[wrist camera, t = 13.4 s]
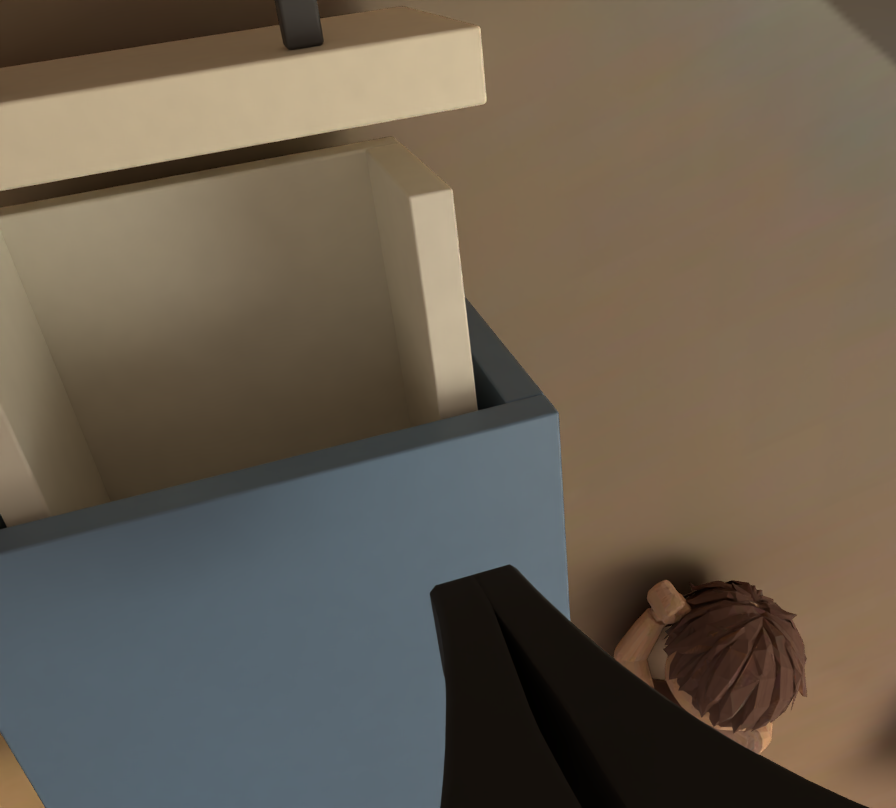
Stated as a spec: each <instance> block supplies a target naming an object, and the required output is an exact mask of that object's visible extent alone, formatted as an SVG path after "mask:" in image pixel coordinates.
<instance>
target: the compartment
mask: <svg viewBox="0 0 896 808" xmlns="http://www.w3.org/2000/svg"><path fill="white" fill-rule="evenodd" d="M465 303H466V312H467V321H468V329H469V338H470V347H471V355H472V364H473V373H474V382H475V390H476V399H477V408H478V411H474V412H470V413H466V414H462V415H458V416H454V417H450V418H446V419H442V420H438V421H434V422H430V423H426V424H422V425H418V426H414V427H410V428H406V429H402V430H398V431H394V432H390V433H386V434H382V435H378V436H374V437H370V438H366V439H362V440H358V441H354V442H350V443H346V444H342V445H338V446H334V447H329V448H325V449H321V450H317V451H313V452H309V453H305V454H301V455H297V456H293V457H289V458H285V459H281V460H277V461H273V462H269V463H265V464H261V465H257V466H253V467H249V468H245V469H241V470H237V471H233V472H229V473H225V474H221V475H217V476H213V477H209V478H205V479H201V480H197V481H193V482H189V483H185V484H181V485H177V486H173V487H169V488H165V489H160V490H156V491H152V492H148V493H144V494H140V495H136V496H132V497H128V498H124V499H120V500H116V501H112V502H108V503H104V504H100V505H96V506H92V507H88V508H84V509H80V510H76V511H72V512H68V513H64V514H60V515H56V516H52V517H48V518H44V519H40V520H36V521H32V522H28V523H24V524H20V525H16V526H12V527H8V528H7V526H6V524H5V522H4V520H3V518H2V516H1V514H0V733H1V734H2V736H3V738H4V739H5V741H6V743H7V744H8V746H9V748H10V749H11V751H12V753H13V754H14V756H15V758H16V759H17V761H18V763H19V764H20V766H21V768H22V769H23V771H24V773H25V774H26V776H27V778H28V779H29V781H30V783H31V784H32V786H33V788H34V790H35V791H36V793H37V795H38V796H39V798H40V800H41V801H42V803H43V805H44V806H45V808H440V805H441V795H442V784H443V772H444V756H445V726H446V687H445V677H444V674H443V669H442V663H441V657H440V651H439V645H438V640H437V634H436V628H435V622H434V616H433V611H432V605H431V599H430V592H431V590H432V589H433V588H434V587H435V585H439V584H442V583H446V582H449V581H453V580H456V579H460V578H463V577H467V576H470V575H474V574H477V573H481V572H484V571H488V570H491V569H495V568H498V567H502V566H505V565H509V564H510V565H512V566H514V567H515V568H517V569H518V570H519V571H520V572H521V574H522V575H523V576H524V577H525V578H526V579H527V580H528V581H529V582H530V583H531V584H532V585H533V586H534V587H535V588H536V589H537V590H538V591H539V592H540V593H541V594H542V595H543V596H544V597H545V598H546V599H547V600H548V601H549V602H550V603H551V604H552V605H553V606H554V607H556V608H557V609H558V610H559V611H560V612H561V613H562V614H563V615H564V616H565V617H566V618H567V619H568V620H570V608H569V590H568V572H567V554H566V537H565V519H564V501H563V483H562V465H561V448H560V430H559V413H558V411H557V410H556V409H555V408H554V406H553V405H552V404H551V403H550V401H549V400H548V399H547V398H546V396H545V395H543V392H542V391H541V390H540V389H539V387H538V386H537V385H536V384H535V383H534V381H533V380H532V379H531V378H530V376H529V375H528V374H527V373H526V371H525V370H524V369H523V368H522V366H521V365H520V364H519V363H518V362H517V360H516V359H515V358H514V357H513V355H512V354H511V353H510V352H509V350H508V349H507V348H506V347H505V346H504V344H503V343H502V342H501V341H500V339H499V338H498V337H497V336H496V334H495V333H494V332H493V331H492V329H491V328H490V327H489V326H488V325H487V323H486V322H485V321H484V320H483V318H482V317H481V316H480V315H479V313H478V312H477V311H476V310H475V308H474V307H473V306H472V305H471V304H470V302H469V301H468V300H467V299H466V297H465Z"/></svg>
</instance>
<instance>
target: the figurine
mask: <svg viewBox="0 0 896 808" xmlns="http://www.w3.org/2000/svg"><path fill="white" fill-rule="evenodd" d="M689 583H690V582H689ZM690 586H691V589H692V591H694V592H691V593H689V594H687V595H684V596H682V595H681V594H680V593H678V592H677V590H676V589H675V588H674V586H673V585H672V584H671V583H670V582H669V581H668V580H663V581H661V582H659V583H657V584H656V585H655V586H654V587H653V588H651V589H650V590H649V591H648V595H647V601H648V602H649V604H650V605H651V608H648V609H647V610H646V611H645V612H644V613H643V614H642V615H641V616H640V617H639V618H638V620H637V621H636V622H635V623H634V624H633V625H632V627H631V628H630V629H629V630H628V632H627V633H626V634H625V636H624V637H623V638H622V639H621V641H620V642H619V643H618V645H617V647H616V649H615V651H614V659H615V660H617V661H618V662H619V663H620V664H622V665H623V666H624V667H625V668H627V669H628V670H629V671H631V672H632V673H633V674H635V675H636V676H637V677H639V678H640V679H641V680H643V681H644V682H645V683H647V684H648V685H649V686H651V687H652V688H654V689H655V690H656V691H658V692H659V693H660V694H662V695H663V696H665V697H666V698H668V699H669V700H670V701H672V702H673V703H675V704H676V705H678V706H679V707H681V708H682V709H684V710H685V711H687V712H688V713H690V714H692V715H693V716H695V717H696V718H698V719H699V720H701V721H702V722H704V723H705V724H707V725H709V726H710V727H712V728H714V729H715V730H717V731H719V732H720V733H722V734H724V735H725V736H727V737H729V738H730V739H732V740H734V741H735V742H737V743H739V744H740V745H742V746H744V747H746V748H748V749H750V750H752V751H753V752H755V753H757V754H760V753H761V752H762V751H763V750H764V749H765V748H766V747H767V746H768V745H769V743H770V742H771V735H772V724H773V721H774V720H775V719H777V718H778V717H779V716H780V715H781V714H782V713H783V712H785V711H786V709H787V707H788V705H789V704H790V702H791V700H792V699H793V703H792V707H793V704H794V701H795V698H796V695H797V692H798V691H799V692H800V693H801V694H802V696H805V697H807V690H806V680H805V669H804V665H805V662H806V659H807V658H806V656H805V651H804V644H803V643H804V642H803V640H802V638H801V636H800V634H799V633H798V631H797V629H796V627H795V625H794V623H793V621H792V619H793V618H794V617H795V616H797V615H796V614H792V613H789V612H786V611H784V610H782V609H781V608H780V607H779V606H778V605H777V604H776V603H773V599H771V598H768V597H765V596H763V594H762V590H756V588H755V586H752V585H750V584H749V583H747V582H739V581H732V580H731V581H729V582H726V583H724V582H721V581H715V582H710V583H706V584H702V585H699V586H694V585H693V584H691V583H690ZM695 590H696V591H695ZM693 594H694V595H693ZM688 596H690V597H689V598H688V599H685V598H686V597H688ZM665 624H667V625H666V626H665V627H667V626H671V625H672V626H671V627H670V628H669V629H668V630H666V631H665V632H666V633H667V634H668V635H667V636H669V637H668V639H667V641H666V643H665V645H668V646H667V647H665V648H664V649H663V650H664V651H665V652H666V653H667V654H668V658H667V661H666V665H665V680H666V681H665V680H655V679H652V677H651V673H650V670H649V666H648V662H647V657H648V656H649V654H650V652H651V650H652V648H653V647H654V645H655V643H656V641H657V639H658V637H659V635H660V633H661V631H662V629H663V627H664V625H665ZM667 636H666V637H667ZM666 637H665V638H666ZM665 638H664V639H665ZM793 697H794V698H793ZM792 707H791V710H792Z"/></svg>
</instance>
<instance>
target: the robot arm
mask: <svg viewBox="0 0 896 808" xmlns="http://www.w3.org/2000/svg"><path fill="white" fill-rule="evenodd" d="M430 599H431V605H432V611H433V616H434V622H435V628H436V634H437V640H438V645H439V651H440V657H441V663H442V669H443V674H444V677H445V687H446V726H445V756H444V772H443V784H442V795H441V805H440V808H869V807H866V806H864V805H861V804H859V803H856V802H854V801H852V800H849V799H847V798H845V797H843V796H841V795H838V794H836V793H834V792H832V791H830V790H828V789H826V788H823V787H821V786H819V785H817V784H815V783H813V782H811V781H808V780H806V779H805V778H803V777H801V776H799V775H797V774H795V773H793V772H791V771H789V770H788V769H786V768H784V767H782V766H780V765H778V764H776V763H774V762H772V761H770V760H769V759H767V758H765V757H763V756H761V755H759V754H757V753H755V752H753V751H752V750H750V749H748V748H746V747H744V746H742V745H740V744H739V743H737V742H735V741H734V740H732V739H730V738H729V737H727V736H725V735H724V734H722V733H720V732H719V731H717V730H715V729H714V728H712V727H710V726H709V725H707V724H705V723H704V722H702V721H701V720H699V719H698V718H696V717H695V716H693V715H692V714H690V713H688V712H687V711H685V710H684V709H682V708H681V707H679V706H678V705H676V704H675V703H673V702H672V701H670V700H669V699H668V698H666V697H665V696H663V695H662V694H660V693H659V692H658V691H656V690H655V689H654V688H652V687H651V686H649V685H648V684H647V683H645V682H644V681H643V680H641V679H640V678H639V677H637V676H636V675H635V674H633V673H632V672H631V671H629V670H628V669H627V668H625V667H624V666H623V665H622V664H620V663H619V662H618V661H617V660H615V659H614V658H613V657H612V656H610V655H609V654H608V653H607V652H606V651H604V650H603V649H602V648H601V647H600V646H598V645H597V644H596V643H595V642H594V641H593V640H591V639H590V638H589V637H588V636H587V635H586V634H584V633H583V632H582V631H581V630H580V629H578V628H577V627H576V626H575V625H574V624H573V623H572V622H571V621H570V620H568V619H567V618H566V617H565V616H564V615H563V614H562V613H561V612H560V611H559V610H558V609H557V608H556V607H554V606H553V605H552V604H551V603H550V602H549V601H548V600H547V599H546V598H545V597H544V596H543V595H542V594H541V593H540V592H539V591H538V590H537V589H536V588H535V587H534V586H533V585H532V584H531V583H530V582H529V581H528V580H527V579H526V578H525V577H524V576H523V575H522V574H521V572H520V571H519V570H518V569H517V568H515V567H514V566H512V565H510V564H509V565H505V566H502V567H498V568H495V569H491V570H488V571H484V572H481V573H477V574H474V575H470V576H467V577H463V578H460V579H456V580H453V581H449V582H446V583H442V584H439V585H435V587H434V588H433V589H432V590H431V592H430Z"/></svg>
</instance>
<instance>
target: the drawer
mask: <svg viewBox="0 0 896 808" xmlns="http://www.w3.org/2000/svg"><path fill="white" fill-rule="evenodd" d="M274 1H275V6H276V11H277V16H278V21H279V25H275V26H269V27H263V28H256V29H250V30H243V31H237V32H230V33H224V34H217V35H211V36H204V37H198V38H191V39H185V40H178V41H172V42H165V43H159V44H152V45H146V46H140V47H133V48H127V49H120V50H114V51H107V52H101V53H94V54H88V55H81V56H75V57H68V58H62V59H55V60H49V61H42V62H36V63H30V64H23V65H17V66H10V67H4V68H0V191H4V190H9V189H15V188H20V187H26V186H32V185H37V184H43V183H48V182H54V181H59V180H65V179H71V178H76V177H82V176H87V175H93V174H98V173H104V172H110V171H115V170H121V169H126V168H132V167H137V166H143V165H149V164H154V163H160V162H165V161H171V160H176V159H182V158H188V157H193V156H199V155H204V154H210V153H215V152H221V151H227V150H232V149H238V148H243V147H249V146H254V145H260V144H265V143H271V142H277V141H282V140H288V139H293V138H299V137H304V136H310V135H316V134H321V133H327V132H332V131H338V130H343V129H349V128H355V127H360V126H366V125H371V124H377V123H382V122H388V121H394V120H399V119H405V118H410V117H416V116H421V115H427V114H433V113H438V112H444V111H449V110H455V109H460V108H466V107H471V106H477V105H483V104H484V103H486V100H487V98H486V86H485V75H484V64H483V52H482V41H481V30H480V27H479V26H477V25H474V24H470V23H466V22H462V21H458V20H454V19H451V18H447V17H443V16H439V15H435V14H431V13H428V12H424V11H420V10H416V9H412V8H408V7H405V6H398V7H392V8H386V9H379V10H373V11H366V12H360V13H353V14H347V15H340V16H334V17H327V18H321V19H320V16H319V10H318V4H317V0H274ZM474 411H478V408H477V399H476V390H475V382H474V373H473V364H472V355H471V347H470V338H469V329H468V321H467V312H466V303H465V294H464V286H463V277H462V268H461V259H460V251H459V242H458V233H457V224H456V216H455V207H454V198H453V190H452V188H451V187H450V186H449V185H447V184H446V183H445V182H444V181H443V180H442V179H441V178H440V177H438V176H437V175H436V174H435V173H434V172H433V171H432V170H431V169H429V168H428V167H427V166H426V165H425V164H424V163H423V162H422V161H420V160H419V159H418V158H417V157H416V156H415V155H414V154H413V153H412V152H410V151H409V150H408V149H407V148H406V147H405V146H404V145H403V144H401V143H399V142H398V141H397V140H396V139H395V138H394V137H391V136H390V137H384V138H379V139H373V140H368V141H362V142H357V143H351V144H346V145H340V146H335V147H329V148H324V149H319V150H313V151H308V152H302V153H297V154H291V155H286V156H280V157H275V158H269V159H264V160H258V161H253V162H247V163H242V164H237V165H231V166H226V167H220V168H215V169H209V170H204V171H198V172H193V173H187V174H182V175H176V176H171V177H165V178H160V179H155V180H149V181H144V182H138V183H133V184H127V185H122V186H116V187H111V188H105V189H100V190H94V191H89V192H84V193H78V194H73V195H67V196H62V197H56V198H51V199H45V200H40V201H34V202H29V203H23V204H18V205H12V206H7V207H2V208H0V514H1V516H2V518H3V520H4V522H5V524H6V526H7V528H8V527H12V526H16V525H20V524H24V523H28V522H32V521H36V520H40V519H44V518H48V517H52V516H56V515H60V514H64V513H68V512H72V511H76V510H80V509H84V508H88V507H92V506H96V505H100V504H104V503H108V502H112V501H116V500H120V499H124V498H128V497H132V496H136V495H140V494H144V493H148V492H152V491H156V490H160V489H165V488H169V487H173V486H177V485H181V484H185V483H189V482H193V481H197V480H201V479H205V478H209V477H213V476H217V475H221V474H225V473H229V472H233V471H237V470H241V469H245V468H249V467H253V466H257V465H261V464H265V463H269V462H273V461H277V460H281V459H285V458H289V457H293V456H297V455H301V454H305V453H309V452H313V451H317V450H321V449H325V448H329V447H334V446H338V445H342V444H346V443H350V442H354V441H358V440H362V439H366V438H370V437H374V436H378V435H382V434H386V433H390V432H394V431H398V430H402V429H406V428H410V427H414V426H418V425H422V424H426V423H430V422H434V421H438V420H442V419H446V418H450V417H454V416H458V415H462V414H466V413H470V412H474Z"/></svg>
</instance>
